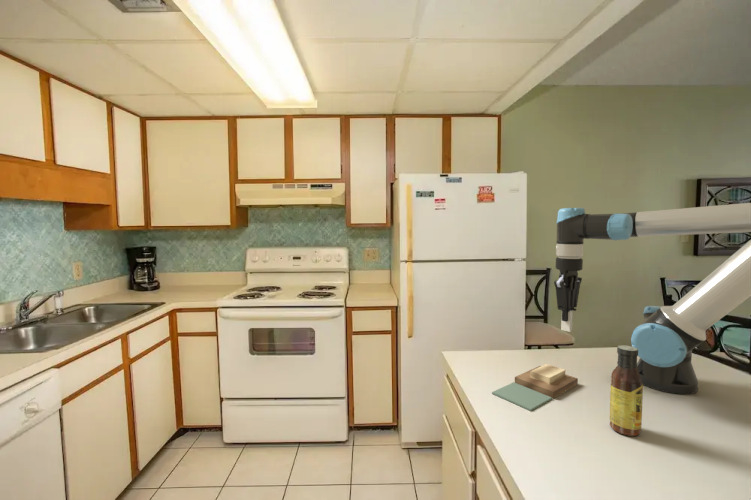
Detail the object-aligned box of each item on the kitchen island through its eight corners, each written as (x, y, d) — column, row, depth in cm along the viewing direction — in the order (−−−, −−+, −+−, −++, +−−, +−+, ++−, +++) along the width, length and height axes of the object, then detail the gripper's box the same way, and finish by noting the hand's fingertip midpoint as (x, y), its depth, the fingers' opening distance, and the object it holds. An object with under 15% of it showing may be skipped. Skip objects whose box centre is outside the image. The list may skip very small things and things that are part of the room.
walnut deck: (577, 384, 109) (577, 378, 109) (552, 398, 101) (553, 391, 101) (539, 371, 119) (540, 365, 119) (514, 383, 111) (514, 377, 111)
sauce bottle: (642, 440, 82) (646, 355, 80) (609, 432, 85) (612, 350, 83) (639, 426, 87) (643, 346, 86) (608, 419, 91) (611, 341, 89)
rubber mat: (551, 399, 101) (552, 397, 101) (530, 411, 95) (530, 409, 95) (513, 383, 111) (513, 382, 111) (492, 393, 105) (492, 392, 105)
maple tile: (565, 376, 111) (565, 370, 111) (549, 384, 106) (549, 377, 105) (546, 369, 116) (546, 363, 116) (530, 377, 111) (530, 371, 110)
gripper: (567, 254, 121) (565, 324, 123) (546, 257, 113) (544, 331, 115) (591, 256, 115) (588, 329, 117) (570, 259, 107) (567, 337, 109)
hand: (566, 330), depth 116 cm, fingers closed
